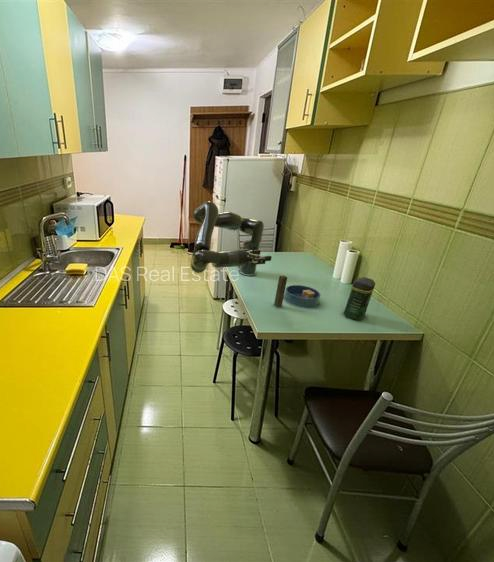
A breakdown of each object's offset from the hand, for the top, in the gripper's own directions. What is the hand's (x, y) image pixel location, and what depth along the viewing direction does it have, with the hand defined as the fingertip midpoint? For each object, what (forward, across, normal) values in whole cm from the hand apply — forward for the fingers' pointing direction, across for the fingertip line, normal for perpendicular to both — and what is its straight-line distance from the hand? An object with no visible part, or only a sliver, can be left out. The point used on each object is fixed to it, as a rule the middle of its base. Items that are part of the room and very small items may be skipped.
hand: (265, 255), depth 139 cm
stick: (+9, -4, +26) cm, 28 cm away
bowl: (+25, -2, +26) cm, 36 cm away
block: (+28, -2, +26) cm, 38 cm away
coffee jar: (+38, -22, +26) cm, 51 cm away
